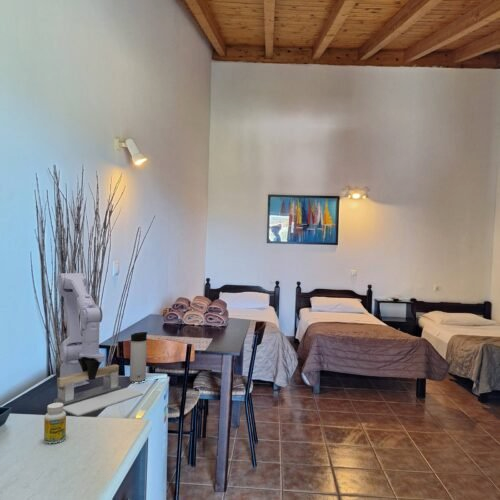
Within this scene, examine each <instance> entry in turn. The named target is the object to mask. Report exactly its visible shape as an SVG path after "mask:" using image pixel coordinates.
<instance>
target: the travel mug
mask: <svg viewBox="0 0 500 500" xmlns="http://www.w3.org/2000/svg"><path fill="white" fill-rule="evenodd" d="M147 335H148V331H144V332H143V331H142V332H140V331H139V332H135V333H132V334H130V353H129V354H130V355H129V356H130V357H129V358H130V359H129V360H130V361H129V362H130V363H129V382H130V383H131V382H133V383H132V384H134V383H135V382H142V381H145V379H146V380H147V378H146V376H147V343H148V342H147V341H148V340H147ZM145 382H146V381H145Z"/></svg>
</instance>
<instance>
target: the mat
mask: <svg viewBox="0 0 500 500" xmlns="http://www.w3.org/2000/svg"><path fill="white" fill-rule="evenodd" d="M143 395H144V392H141V391H139V390H135V389H130V388H127V387H124V388H121V389H120V390H117V391H114V392H111V393H107V394H104V395H101V396H97V397H94V398H91V399H87V400H84V401H81V402H78V403H74V404H71V405H68V406H64V408H63V411H65V412H66V413H69V414H71V415H73V416H76V417H81V416H83V415H87V414H90V413H92V412H93V413H94V412H95V411H99V410H101V409H105V408H107V407H111V406H113V405H117V404H119V403H123V402H125V401H128V400H131V399H134V398H138V397H141V396H143Z"/></svg>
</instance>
